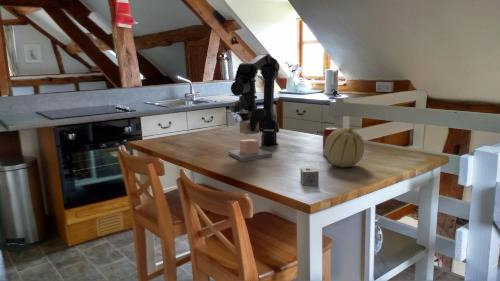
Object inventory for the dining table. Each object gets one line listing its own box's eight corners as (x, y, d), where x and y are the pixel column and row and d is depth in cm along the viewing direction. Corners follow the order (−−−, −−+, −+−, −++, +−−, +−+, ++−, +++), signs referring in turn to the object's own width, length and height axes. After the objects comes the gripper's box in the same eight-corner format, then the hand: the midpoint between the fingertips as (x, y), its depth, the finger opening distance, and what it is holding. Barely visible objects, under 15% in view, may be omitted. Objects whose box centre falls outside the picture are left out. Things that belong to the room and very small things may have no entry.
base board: (256, 150, 178) (256, 146, 178) (271, 156, 166) (271, 153, 166) (228, 154, 172) (228, 151, 172) (242, 161, 160) (242, 157, 160)
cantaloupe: (331, 159, 158) (331, 123, 155) (368, 163, 151) (369, 125, 148) (318, 169, 146) (318, 129, 143) (357, 173, 139) (358, 132, 135)
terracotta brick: (252, 149, 173) (252, 138, 172) (259, 152, 168) (258, 141, 167) (240, 151, 170) (239, 140, 169) (246, 154, 165) (246, 142, 164)
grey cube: (300, 182, 132) (300, 167, 130) (315, 181, 132) (315, 167, 131) (303, 186, 127) (303, 172, 126) (318, 186, 127) (318, 171, 126)
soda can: (329, 158, 160) (330, 129, 157) (319, 155, 166) (319, 127, 163) (342, 156, 163) (343, 128, 160) (332, 153, 169) (332, 125, 166)
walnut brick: (252, 130, 171) (251, 119, 170) (259, 132, 166) (258, 121, 165) (239, 132, 168) (239, 121, 167) (246, 134, 163) (246, 122, 162)
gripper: (221, 93, 168) (223, 129, 171) (240, 96, 152) (242, 136, 155) (244, 91, 173) (245, 126, 176) (265, 94, 157) (266, 132, 160)
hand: (249, 130), depth 167 cm, fingers closed on walnut brick, 6 cm apart
